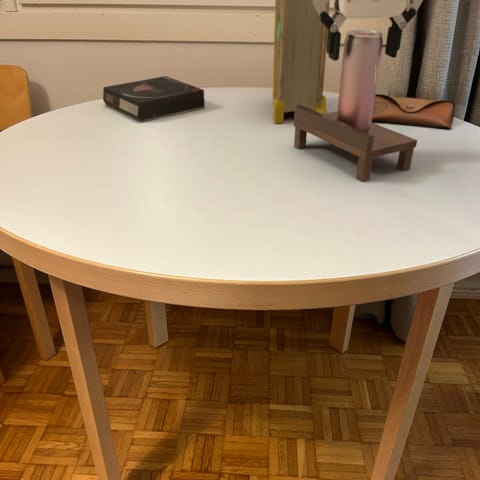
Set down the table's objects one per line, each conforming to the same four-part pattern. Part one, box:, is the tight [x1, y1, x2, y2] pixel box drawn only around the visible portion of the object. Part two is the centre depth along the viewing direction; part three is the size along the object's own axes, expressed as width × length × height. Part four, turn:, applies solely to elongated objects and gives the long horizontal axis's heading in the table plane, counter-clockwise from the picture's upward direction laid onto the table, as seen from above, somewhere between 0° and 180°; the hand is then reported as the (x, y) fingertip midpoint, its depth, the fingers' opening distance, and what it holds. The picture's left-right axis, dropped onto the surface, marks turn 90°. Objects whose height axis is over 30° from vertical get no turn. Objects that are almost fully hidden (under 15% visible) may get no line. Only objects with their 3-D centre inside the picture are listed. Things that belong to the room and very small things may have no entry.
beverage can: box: [336, 29, 384, 132], centre depth 88 cm, size 6×6×15 cm
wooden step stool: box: [293, 105, 418, 182], centre depth 93 cm, size 11×20×7 cm, turn 30°
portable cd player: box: [102, 75, 206, 123], centre depth 120 cm, size 16×17×4 cm
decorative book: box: [272, 0, 331, 124], centre depth 109 cm, size 20×11×30 cm, turn 178°
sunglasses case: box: [372, 93, 456, 128], centre depth 112 cm, size 18×7×7 cm
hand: (362, 57), depth 85 cm, fingers open, 9 cm apart
